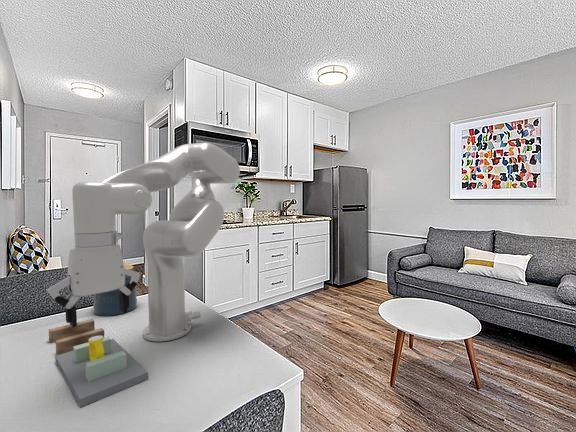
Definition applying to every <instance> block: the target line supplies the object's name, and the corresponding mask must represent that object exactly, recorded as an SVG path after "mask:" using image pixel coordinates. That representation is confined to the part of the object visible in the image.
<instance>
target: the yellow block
mask: <svg viewBox="0 0 576 432" xmlns="http://www.w3.org/2000/svg"><path fill="white" fill-rule="evenodd" d="M102 341H103V336H94V337H91V338H90V339H89V340H88V343H89V355H90V360H91V361H94V360H97V359H100V358H103V357H104V349H103V344H102Z"/></svg>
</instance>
